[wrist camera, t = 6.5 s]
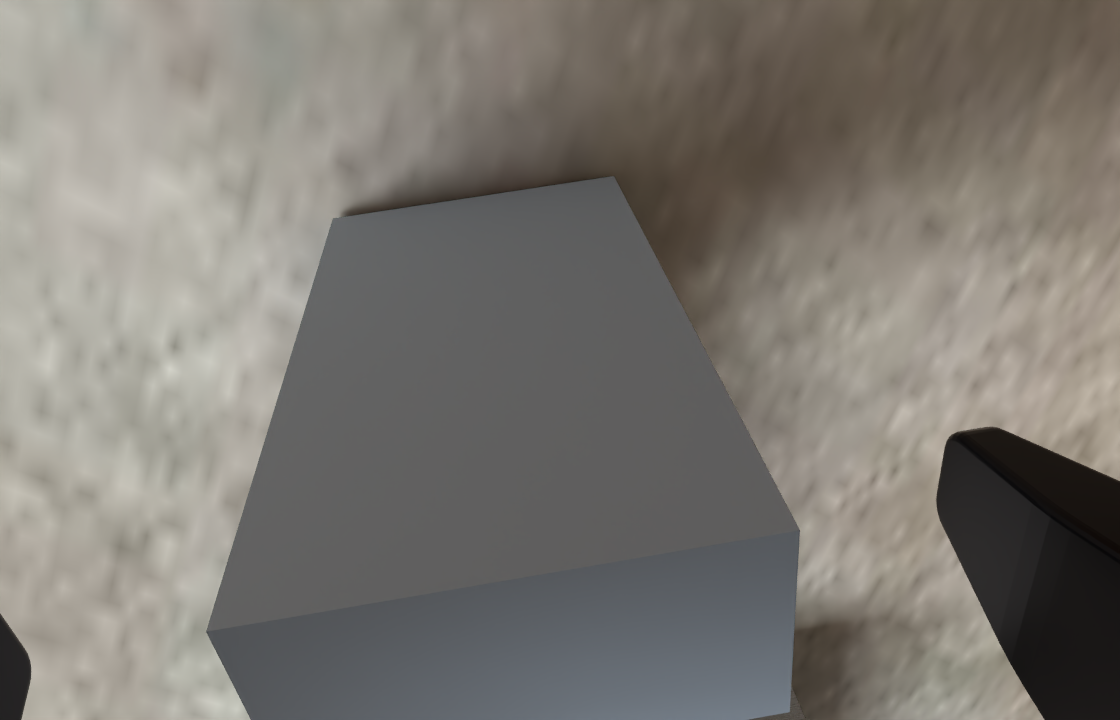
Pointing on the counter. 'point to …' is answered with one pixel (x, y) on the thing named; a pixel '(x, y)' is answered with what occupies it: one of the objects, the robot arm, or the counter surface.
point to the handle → (506, 486)
